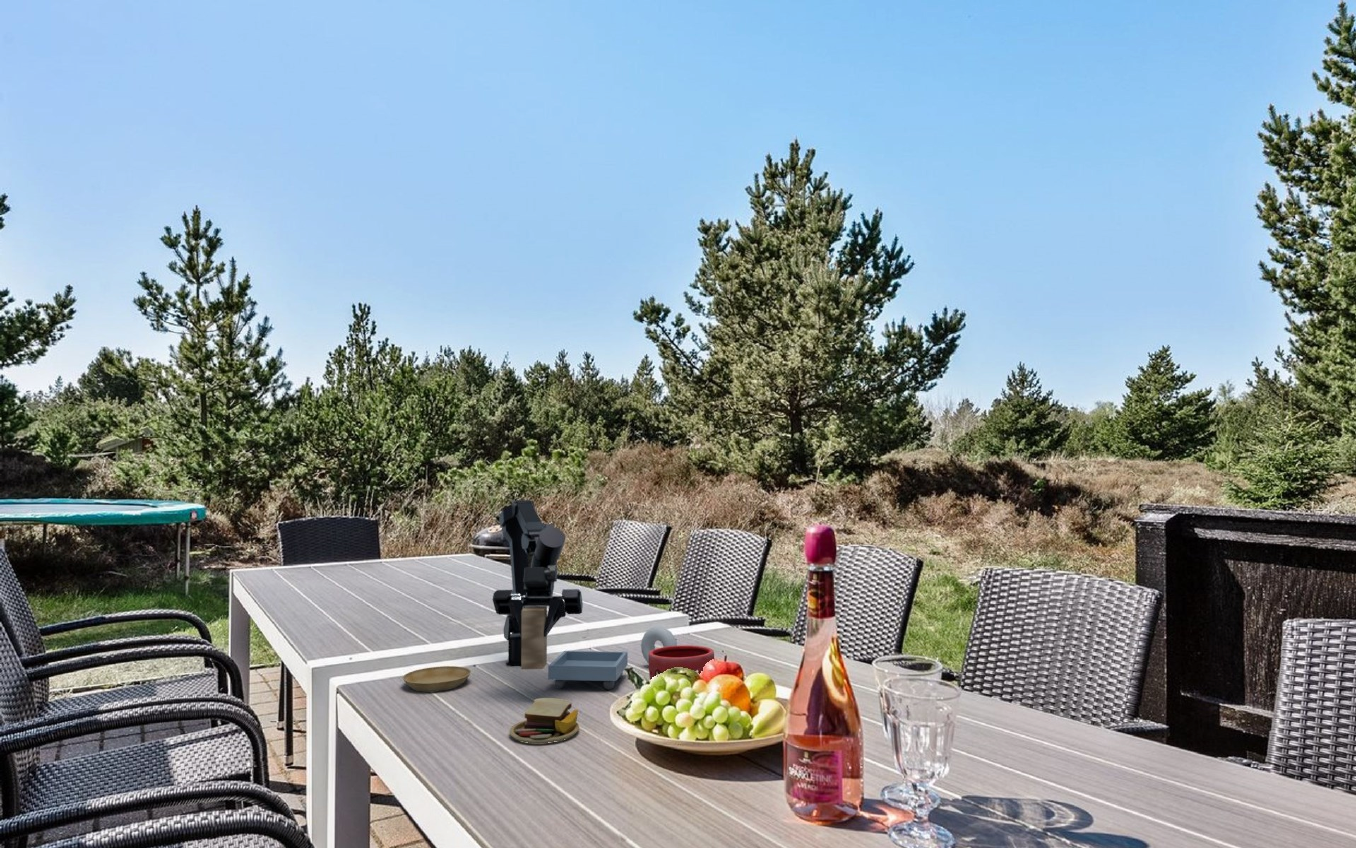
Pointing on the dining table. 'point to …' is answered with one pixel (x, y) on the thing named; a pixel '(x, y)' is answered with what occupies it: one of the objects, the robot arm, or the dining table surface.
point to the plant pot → (679, 658)
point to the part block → (533, 638)
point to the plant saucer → (436, 678)
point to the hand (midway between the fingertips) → (533, 635)
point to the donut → (653, 636)
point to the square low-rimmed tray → (588, 667)
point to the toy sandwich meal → (546, 722)
